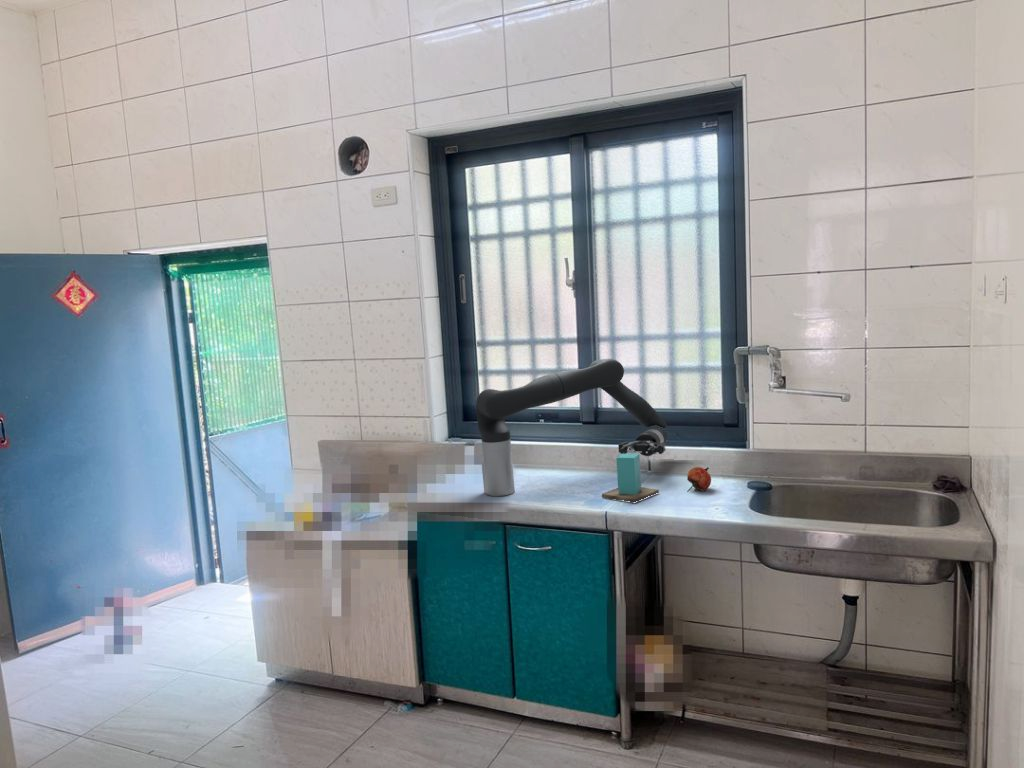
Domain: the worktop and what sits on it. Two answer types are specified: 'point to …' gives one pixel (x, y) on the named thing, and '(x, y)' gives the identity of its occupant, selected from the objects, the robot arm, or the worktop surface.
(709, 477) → the pomegranate
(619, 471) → the block
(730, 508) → the worktop surface
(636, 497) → the base plate
